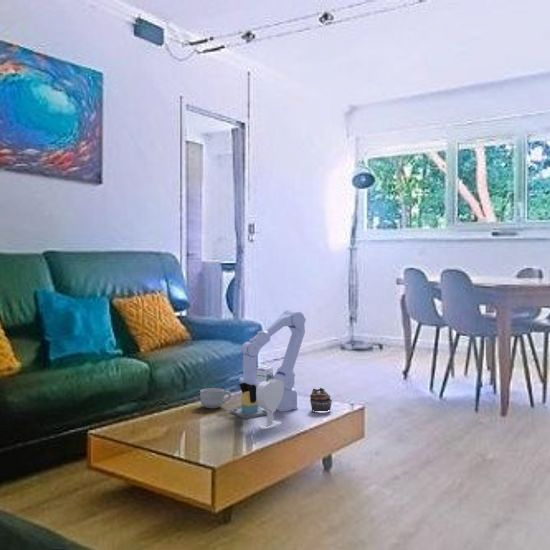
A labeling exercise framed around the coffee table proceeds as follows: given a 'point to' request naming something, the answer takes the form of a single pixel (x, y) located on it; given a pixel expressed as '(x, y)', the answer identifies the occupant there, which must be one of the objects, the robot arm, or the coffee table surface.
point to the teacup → (213, 397)
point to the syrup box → (264, 373)
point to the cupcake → (320, 400)
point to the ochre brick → (247, 399)
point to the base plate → (248, 415)
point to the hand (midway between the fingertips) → (249, 401)
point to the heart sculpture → (270, 397)
